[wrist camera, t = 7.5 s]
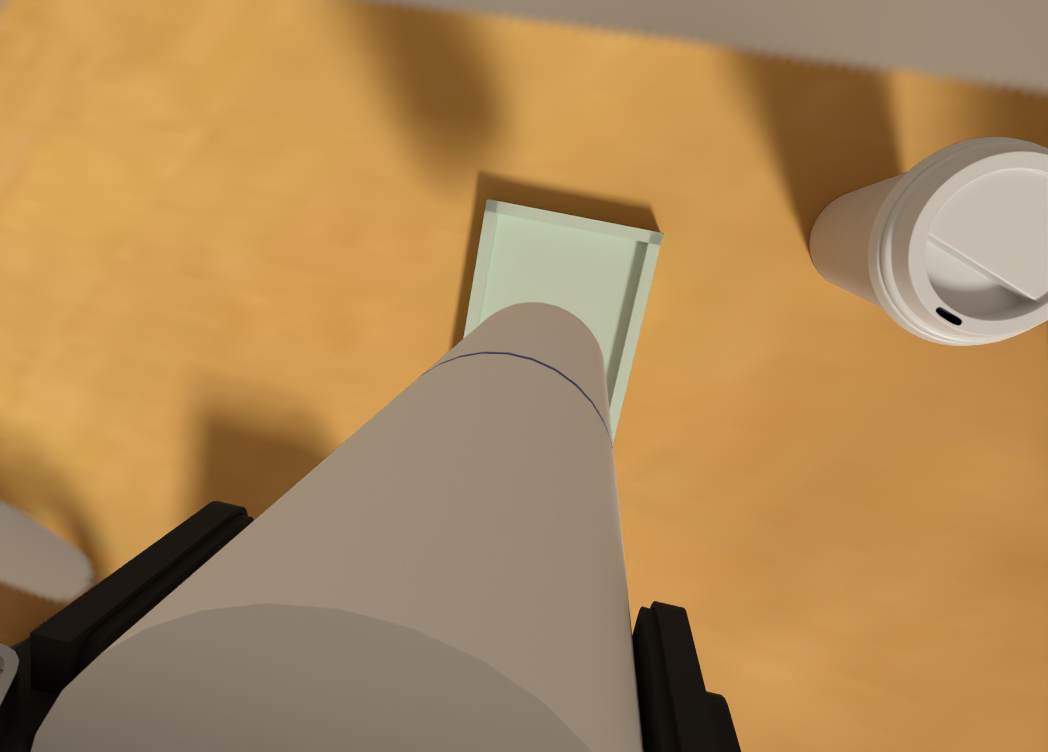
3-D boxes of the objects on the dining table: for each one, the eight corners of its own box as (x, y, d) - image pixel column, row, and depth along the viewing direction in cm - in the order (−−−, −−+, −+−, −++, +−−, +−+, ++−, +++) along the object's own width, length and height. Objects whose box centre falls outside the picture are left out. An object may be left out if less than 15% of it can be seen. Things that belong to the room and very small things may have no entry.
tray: (660, 232, 43) (663, 233, 41) (609, 447, 47) (610, 455, 45) (490, 199, 43) (486, 198, 42) (454, 413, 47) (449, 420, 46)
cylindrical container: (566, 276, 30) (458, 491, 5) (629, 406, 31) (768, 1060, 7) (438, 340, 31) (-103, 736, 7) (502, 462, 32) (235, 1169, 8)
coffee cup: (757, 226, 42) (846, 225, 27) (887, 133, 40) (1058, 79, 25) (833, 338, 43) (957, 394, 29) (964, 254, 41) (1169, 268, 26)
